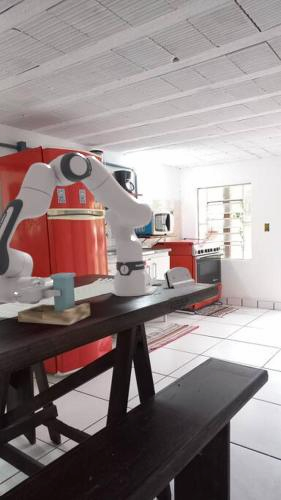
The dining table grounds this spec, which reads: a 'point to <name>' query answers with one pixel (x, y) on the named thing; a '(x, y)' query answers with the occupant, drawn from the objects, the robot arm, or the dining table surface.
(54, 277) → the post
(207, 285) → the dining table surface
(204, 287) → the dining table surface
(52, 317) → the keyhole board
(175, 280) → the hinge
